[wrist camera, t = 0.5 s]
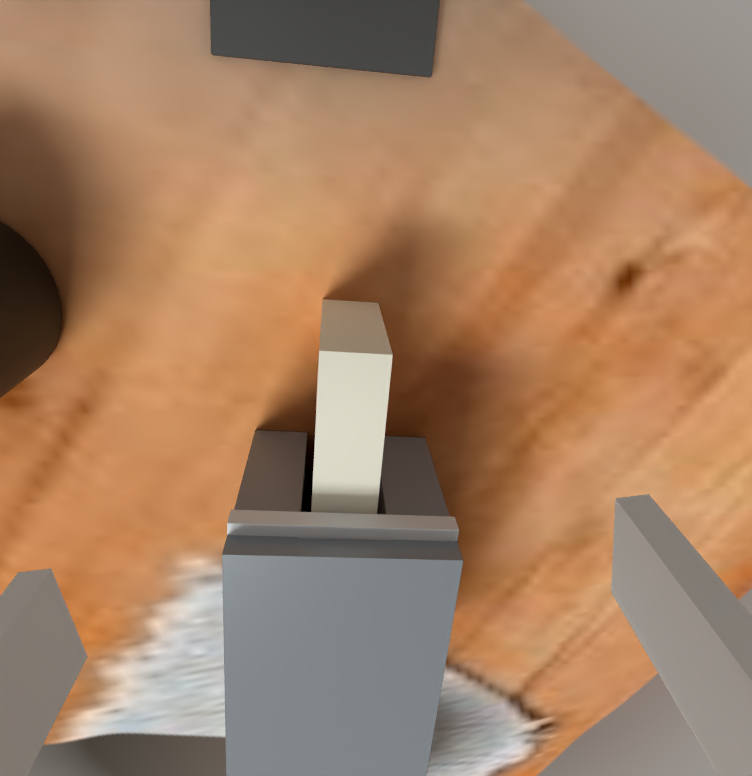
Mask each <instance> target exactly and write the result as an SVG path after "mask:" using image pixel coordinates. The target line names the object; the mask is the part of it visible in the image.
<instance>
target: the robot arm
mask: <svg viewBox="0 0 752 776" xmlns="http://www.w3.org/2000/svg"><path fill="white" fill-rule="evenodd" d="M611 593H612V594H613V596H614V598H615V599H616V601H617V603H618V605H619V606H620V608H621V610H622V612H623V613H624V615H625V617H626V618H627V620H628V622H629V624H630V625H631V627H632V629H633V630H634V632H635V634H636V636H637V637H638V639H639V641H640V643H641V644H642V646H643V648H644V649H645V651H646V653H647V655H648V656H649V658H650V660H651V661H652V663H653V665H654V667H655V668H656V670H657V672H658V673H659V675H660V677H661V678H662V680H663V682H664V684H665V686H666V687H667V689H668V691H669V692H670V694H671V696H672V697H673V699H674V701H675V703H676V704H677V706H678V708H679V709H680V711H681V713H682V715H683V717H684V718H685V720H686V722H687V723H688V725H689V727H690V729H691V730H692V731H693V734H694V735H695V737H696V739H697V740H698V742H699V744H700V746H701V747H702V749H703V751H704V753H705V754H706V756H707V758H708V760H709V761H710V763H711V765H712V766H713V768H714V770H715V771H716V773H717V775H718V776H752V615H751V614H750V613H749V612H748V611H747V610H746V608H745V607H744V606H743V605H742V604H741V603H740V601H739V600H738V599H737V598H736V597H735V595H734V594H733V593H732V592H731V591H730V589H729V588H728V587H727V586H726V585H725V584H724V582H723V581H722V580H721V579H720V578H719V577H718V575H717V574H716V573H715V572H714V571H713V569H712V568H711V567H710V566H709V565H708V564H707V562H706V561H705V560H704V559H703V558H702V556H701V555H700V554H699V553H698V552H697V551H696V549H695V548H694V547H693V546H692V545H691V544H690V542H689V541H688V540H687V539H686V538H685V536H684V535H683V534H682V533H681V532H680V531H679V529H678V528H677V527H676V526H675V525H674V523H673V522H672V521H671V520H670V519H669V518H668V516H667V515H666V514H665V513H664V512H663V511H662V509H661V508H660V507H659V506H658V505H657V503H656V502H655V501H654V500H653V499H652V498H651V496H650V495H649V494H647V495H639V496H631V497H622V498H615V520H614V542H613V564H612V586H611ZM87 657H88V656H87V654H86V652H85V649H84V647H83V644H82V642H81V640H80V637H79V635H78V632H77V630H76V627H75V625H74V623H73V620H72V618H71V615H70V613H69V611H68V608H67V606H66V603H65V601H64V599H63V596H62V594H61V591H60V589H59V587H58V584H57V582H56V579H55V577H54V574H53V572H52V570H51V569H43V570H35V571H27V572H19V573H18V574H17V575H16V576H15V578H14V579H13V580H12V581H11V583H10V584H9V585H8V587H7V588H6V589H5V591H4V592H3V593H2V594H1V596H0V776H27V775H28V773H29V771H30V769H31V767H32V765H33V763H34V761H35V759H36V757H37V755H38V753H39V751H40V749H41V747H42V745H43V743H44V741H45V739H46V737H47V735H48V733H49V731H50V729H51V727H52V726H53V724H54V722H55V720H56V718H57V716H58V714H59V712H60V710H61V708H62V706H63V704H64V702H65V700H66V698H67V696H68V694H69V692H70V690H71V688H72V686H73V684H74V682H75V680H76V678H77V676H78V674H79V672H80V670H81V668H82V667H83V665H84V663H85V661H86V659H87Z"/></svg>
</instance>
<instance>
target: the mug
mask: <svg viewBox="0 0 752 776" xmlns="http://www.w3.org/2000/svg"><path fill="white" fill-rule="evenodd" d="M61 320H62V316H61V302H60V297H59V293H58V289H57V286H56V284H55V281H54V279H53V276H52V274H51V272H50V271H49V269H48V267H47V265H46V264H45V262H44V261H43V259H42V258H41V257H40V255H39V254H38V253H37V252H36V250H35V249H34V248H33V247H32V246H31V245H30V244H29V243H28V242H27V241H26V240H25V239H24V238H23V237H22V236H20V235H19V234H18V233H16V232H15V231H14V230H13V229H11V228H10V227H8V226H7V225H5V224H3V223H2V222H0V398H1V397H2V396H3V395H5V394H6V393H7V392H8V391H10V390H11V389H12V388H14V387H15V386H16V385H17V384H19V383H20V382H21V381H23V380H24V379H25V378H27V377H28V376H29V375H30V374H32V373H33V372H34V371H35V370H37V369H38V368H39V367H40V366H42V365H43V363H44V362H45V361H46V360H47V359H48V357H49V356H50V355H51V353H52V351H53V349H54V347H55V346H56V343H57V340H58V337H59V334H60V329H61Z"/></svg>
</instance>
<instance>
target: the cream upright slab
mask: <svg viewBox="0 0 752 776" xmlns="http://www.w3.org/2000/svg"><path fill="white" fill-rule="evenodd" d="M392 358H393V354H392V350H391V347H390V343H389V340H388V336H387V332H386V329H385V325H384V322H383V318H382V314H381V311H380V307H379V304H378V303H373V302H358V301H343V300H327V299H323V301H322V316H321V332H320V347H319V360H318V378H317V399H316V426H315V447H314V467H313V487H312V507H311V512H321V513H353V514H377V508H378V498H379V488H380V478H381V468H382V458H383V448H384V438H385V428H386V418H387V408H388V398H389V388H390V378H391V368H392Z"/></svg>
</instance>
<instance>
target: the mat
mask: <svg viewBox="0 0 752 776" xmlns="http://www.w3.org/2000/svg"><path fill="white" fill-rule="evenodd" d="M438 10H439V0H210V16H211V54H212V55H216V56H226V57H235V58H245V59H255V60H265V61H274V62H284V63H294V64H304V65H314V66H323V67H333V68H343V69H353V70H363V71H372V72H382V73H392V74H402V75H411V76H421V77H431V76H432V66H433V57H434V48H435V38H436V29H437V19H438Z"/></svg>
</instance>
